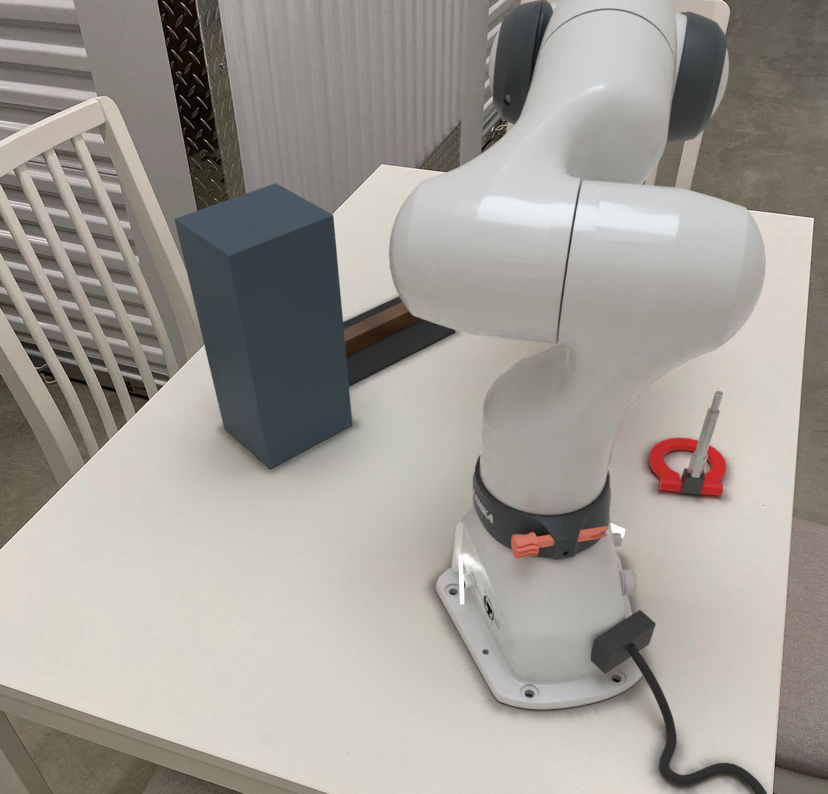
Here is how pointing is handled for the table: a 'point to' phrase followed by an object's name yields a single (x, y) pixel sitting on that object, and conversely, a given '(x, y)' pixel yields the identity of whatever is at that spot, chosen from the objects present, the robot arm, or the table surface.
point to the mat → (391, 344)
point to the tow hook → (692, 460)
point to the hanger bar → (378, 328)
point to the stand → (270, 319)
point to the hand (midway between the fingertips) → (463, 260)
